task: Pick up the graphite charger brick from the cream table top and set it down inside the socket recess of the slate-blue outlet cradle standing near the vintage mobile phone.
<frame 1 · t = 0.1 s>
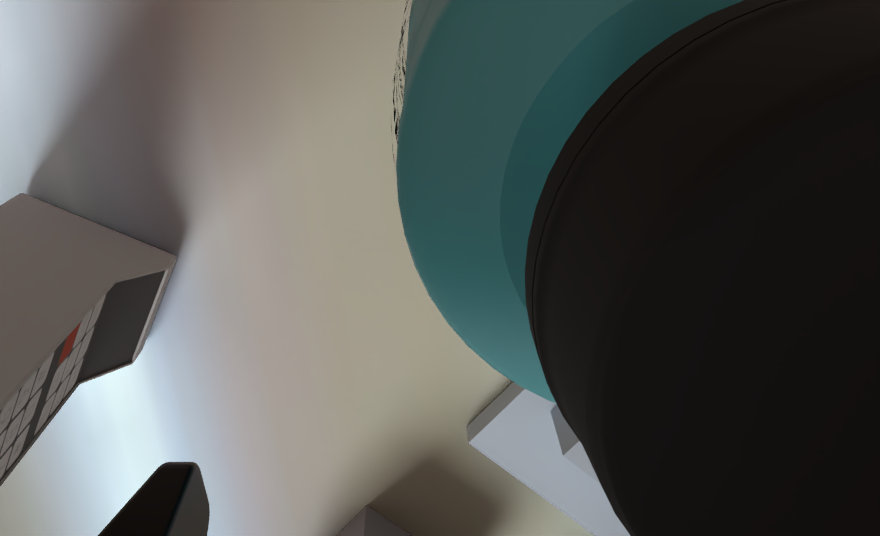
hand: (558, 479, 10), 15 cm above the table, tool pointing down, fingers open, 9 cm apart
beverage bottle: (515, 28, 23), on the table
outlet cradle: (726, 391, 27), on the table
vintage mobile phone: (90, 269, 25), on the table
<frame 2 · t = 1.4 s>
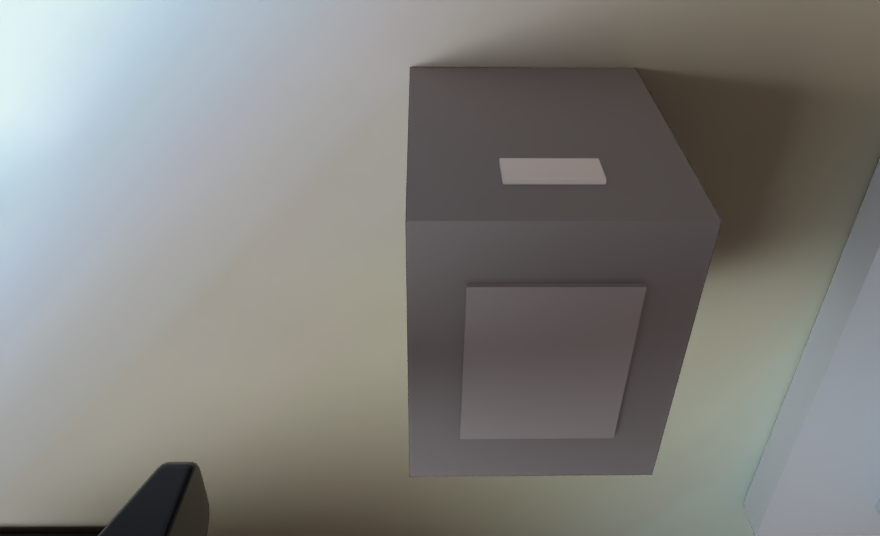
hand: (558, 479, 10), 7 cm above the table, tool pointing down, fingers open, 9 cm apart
charger brick: (512, 187, 15), on the table
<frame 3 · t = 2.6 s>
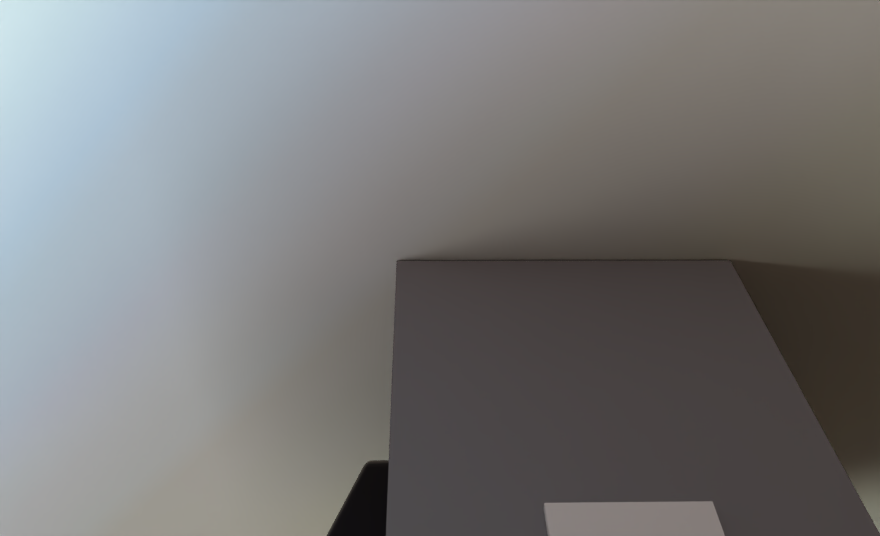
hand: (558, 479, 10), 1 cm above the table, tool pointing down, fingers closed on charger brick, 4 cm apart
charger brick: (544, 406, 11), on the table, touching gripper
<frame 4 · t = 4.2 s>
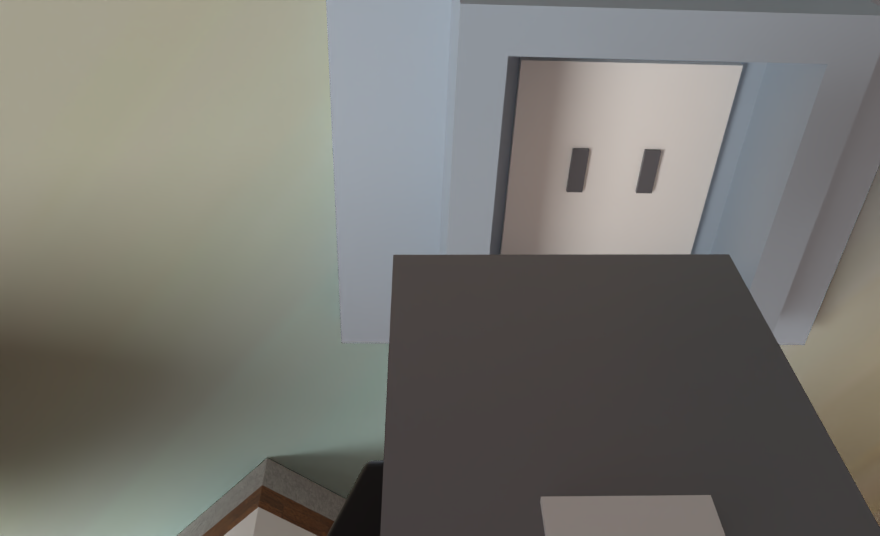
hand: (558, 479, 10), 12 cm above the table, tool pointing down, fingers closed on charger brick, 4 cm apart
charger brick: (542, 402, 11), point 11 cm above the table, touching gripper
outlet cradle: (602, 148, 21), on the table
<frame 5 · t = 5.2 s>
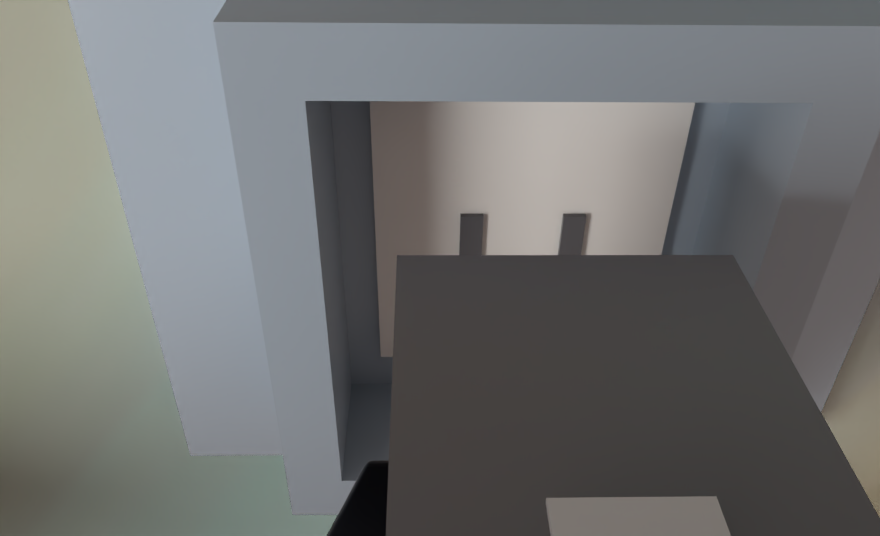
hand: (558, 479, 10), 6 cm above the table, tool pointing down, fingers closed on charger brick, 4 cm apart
charger brick: (545, 402, 11), point 5 cm above the table, touching gripper
outlet cradle: (514, 206, 15), on the table
when the fingers open (4 cm above the table, at t = 6.0 s): charger brick drops 1 cm, resting on outlet cradle.
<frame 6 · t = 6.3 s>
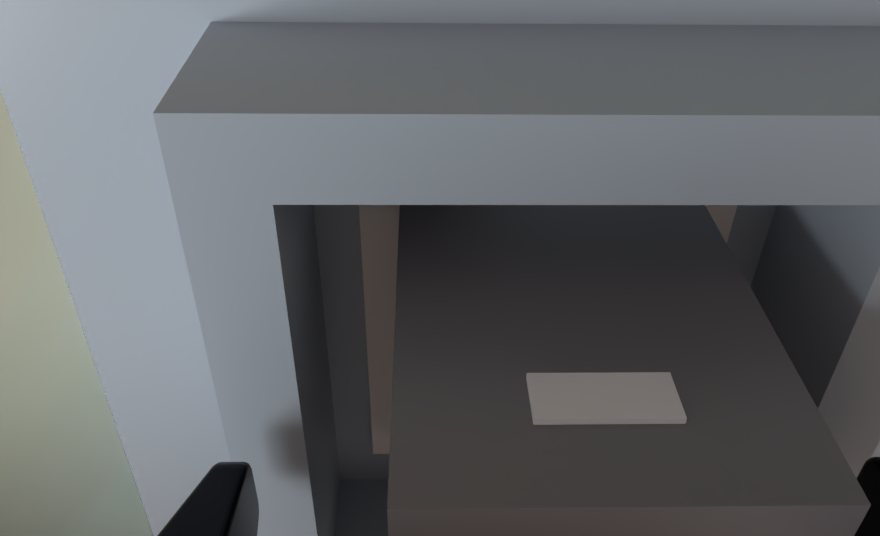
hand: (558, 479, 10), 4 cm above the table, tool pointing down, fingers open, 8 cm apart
charger brick: (533, 333, 12), point 1 cm above the table, touching outlet cradle
outlet cradle: (526, 285, 13), on the table
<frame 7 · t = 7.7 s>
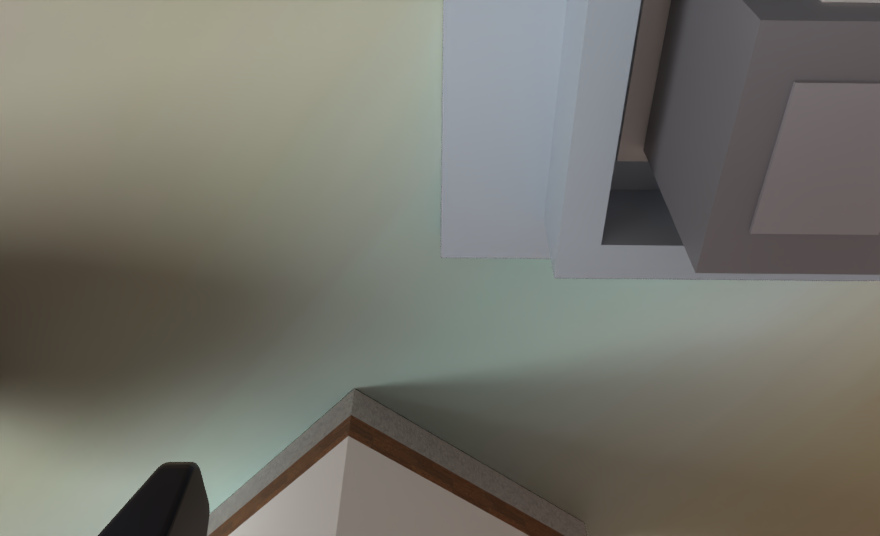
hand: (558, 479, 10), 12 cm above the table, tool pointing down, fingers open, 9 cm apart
charger brick: (749, 53, 18), point 1 cm above the table, touching outlet cradle
outlet cradle: (732, 35, 19), on the table
white box wooden trim: (387, 522, 31), on the table
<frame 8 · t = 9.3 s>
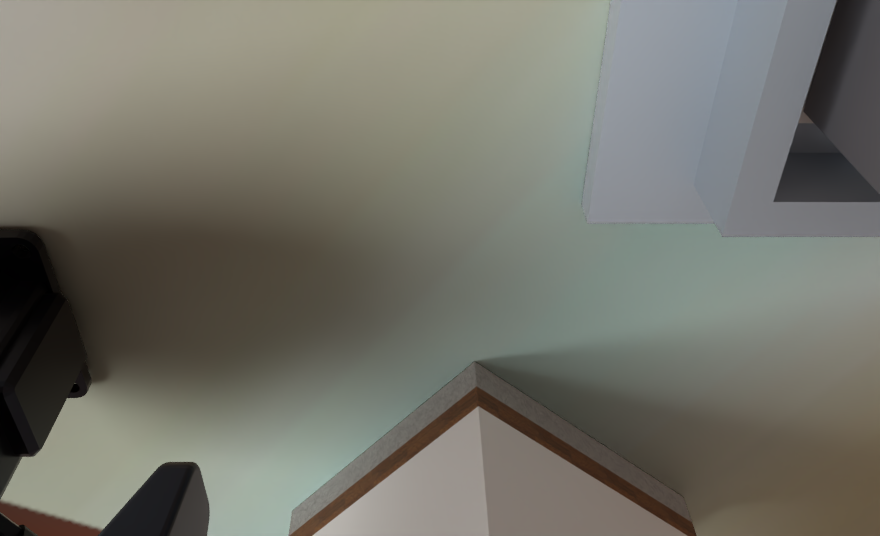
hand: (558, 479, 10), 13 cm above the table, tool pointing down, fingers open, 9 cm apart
white box wooden trim: (487, 499, 31), on the table
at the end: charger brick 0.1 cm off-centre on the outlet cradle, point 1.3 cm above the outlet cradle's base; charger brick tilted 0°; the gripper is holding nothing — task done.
